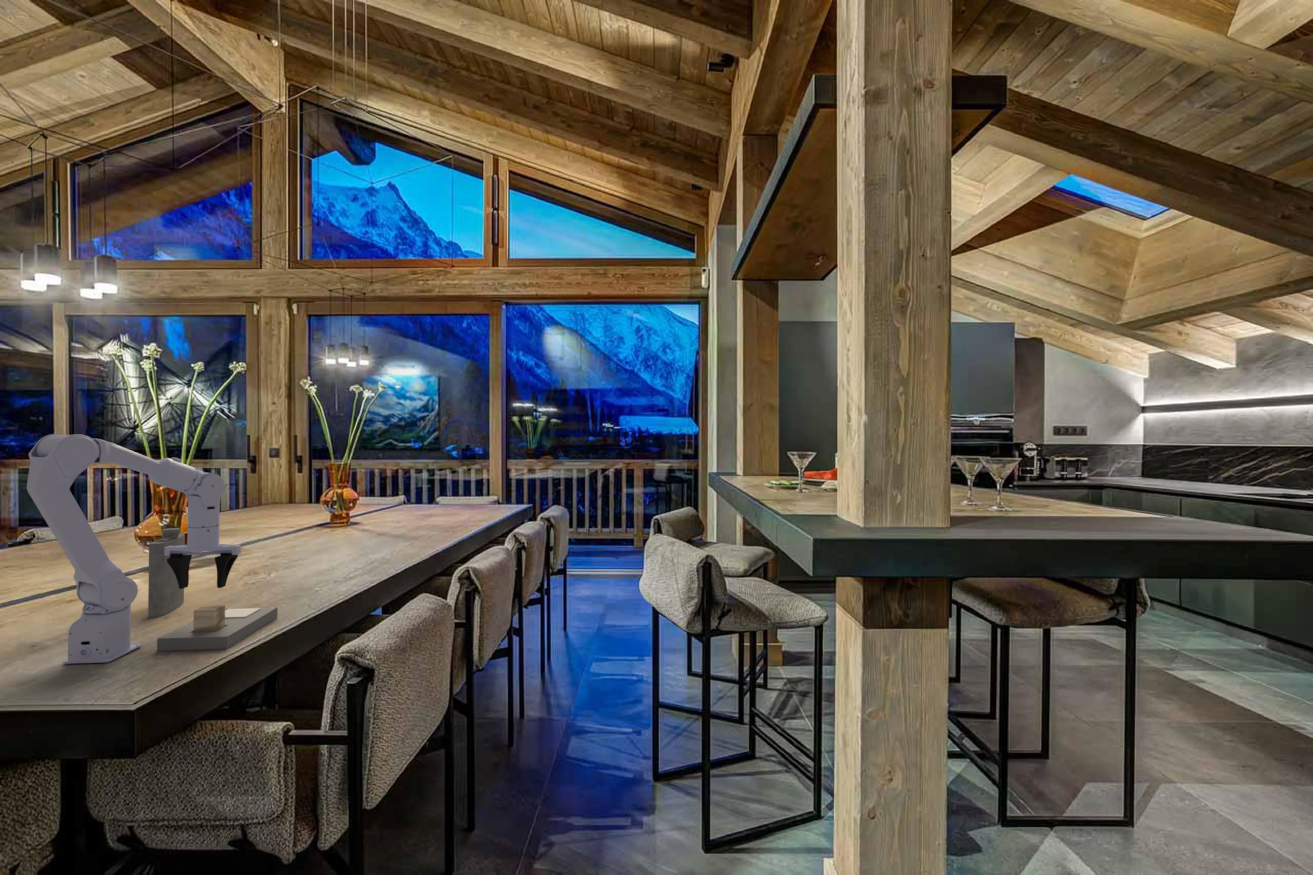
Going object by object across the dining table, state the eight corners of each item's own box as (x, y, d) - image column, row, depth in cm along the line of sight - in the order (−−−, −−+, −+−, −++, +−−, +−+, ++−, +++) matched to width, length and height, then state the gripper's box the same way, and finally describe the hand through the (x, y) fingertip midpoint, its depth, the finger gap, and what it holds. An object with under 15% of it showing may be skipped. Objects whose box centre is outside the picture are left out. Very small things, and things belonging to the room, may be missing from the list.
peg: (214, 643, 131) (214, 609, 131) (193, 643, 130) (193, 610, 130) (224, 637, 135) (225, 604, 135) (204, 637, 134) (204, 605, 134)
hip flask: (171, 601, 163) (171, 524, 163) (189, 600, 164) (190, 523, 164) (145, 618, 148) (146, 533, 148) (166, 616, 149) (167, 532, 149)
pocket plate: (227, 648, 127) (227, 635, 127) (157, 650, 126) (157, 637, 126) (277, 617, 149) (277, 606, 149) (218, 619, 147) (218, 607, 147)
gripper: (248, 523, 144) (247, 582, 144) (178, 524, 142) (177, 583, 142) (232, 527, 137) (231, 589, 137) (158, 528, 135) (157, 591, 135)
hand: (202, 587), depth 139 cm, fingers open, 7 cm apart
